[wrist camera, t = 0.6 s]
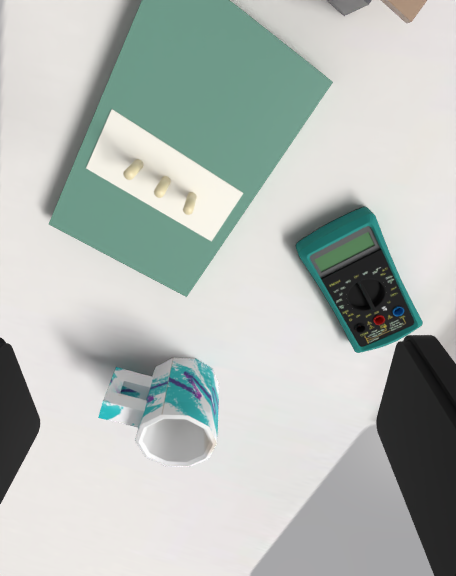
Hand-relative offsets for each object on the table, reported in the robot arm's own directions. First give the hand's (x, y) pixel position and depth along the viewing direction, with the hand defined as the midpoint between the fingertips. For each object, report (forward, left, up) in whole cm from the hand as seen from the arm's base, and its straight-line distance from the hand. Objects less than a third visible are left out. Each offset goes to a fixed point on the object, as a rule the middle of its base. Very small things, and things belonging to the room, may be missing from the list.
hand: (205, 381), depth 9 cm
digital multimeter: (+3, +18, -27) cm, 32 cm away
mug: (+25, +8, -27) cm, 37 cm away
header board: (+2, -3, -26) cm, 26 cm away
